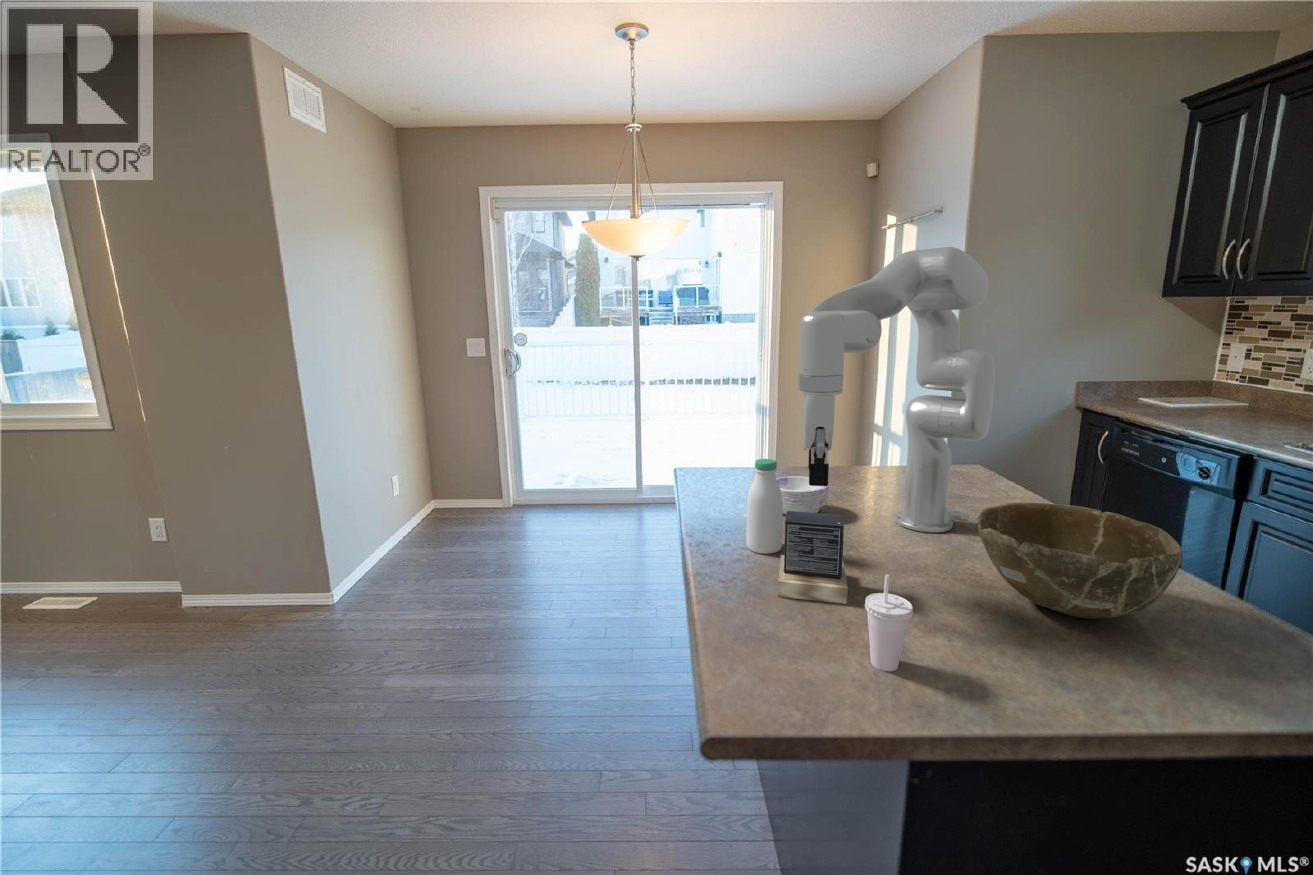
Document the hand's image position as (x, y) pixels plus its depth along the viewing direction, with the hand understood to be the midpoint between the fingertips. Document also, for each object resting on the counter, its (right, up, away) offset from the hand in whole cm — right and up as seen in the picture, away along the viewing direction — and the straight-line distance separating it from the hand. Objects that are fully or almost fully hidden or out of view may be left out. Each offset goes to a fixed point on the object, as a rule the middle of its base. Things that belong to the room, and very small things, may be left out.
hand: (817, 477), depth 101 cm
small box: (0, -18, +4) cm, 18 cm away
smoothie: (+4, -26, -20) cm, 33 cm away
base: (0, -21, +4) cm, 21 cm away
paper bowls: (+8, -12, +45) cm, 47 cm away
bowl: (+41, -22, -5) cm, 47 cm away
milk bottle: (-6, -17, +22) cm, 28 cm away
